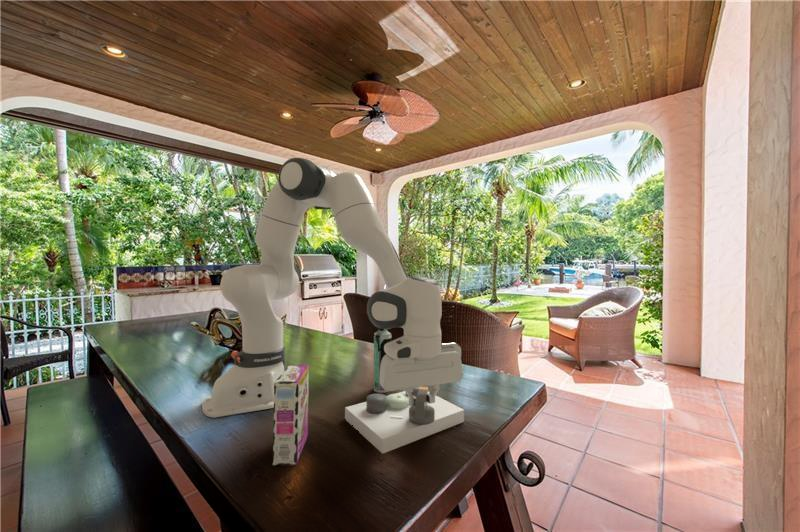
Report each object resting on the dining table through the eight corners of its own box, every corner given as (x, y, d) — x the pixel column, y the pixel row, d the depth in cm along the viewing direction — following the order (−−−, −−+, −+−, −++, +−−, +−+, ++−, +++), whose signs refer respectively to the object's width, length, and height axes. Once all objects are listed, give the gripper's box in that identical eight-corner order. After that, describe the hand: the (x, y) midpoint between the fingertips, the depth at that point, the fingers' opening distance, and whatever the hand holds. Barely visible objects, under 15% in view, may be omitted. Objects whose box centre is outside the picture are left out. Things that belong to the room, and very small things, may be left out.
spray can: (388, 393, 98) (389, 327, 98) (371, 392, 99) (371, 327, 99) (392, 386, 103) (393, 324, 103) (376, 385, 104) (376, 323, 104)
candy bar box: (298, 465, 63) (298, 382, 63) (272, 467, 63) (272, 382, 62) (309, 435, 74) (309, 364, 74) (287, 436, 74) (287, 364, 74)
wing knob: (433, 429, 71) (433, 403, 71) (406, 426, 72) (406, 401, 72) (435, 410, 80) (435, 387, 80) (411, 408, 81) (411, 386, 81)
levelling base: (382, 453, 67) (382, 425, 67) (345, 419, 82) (345, 395, 82) (464, 421, 81) (464, 397, 81) (419, 397, 96) (419, 376, 96)
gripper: (454, 338, 82) (453, 392, 83) (377, 345, 75) (377, 404, 76) (468, 345, 77) (467, 402, 77) (385, 352, 70) (385, 416, 70)
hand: (421, 403), depth 76 cm, fingers closed on wing knob, 3 cm apart
